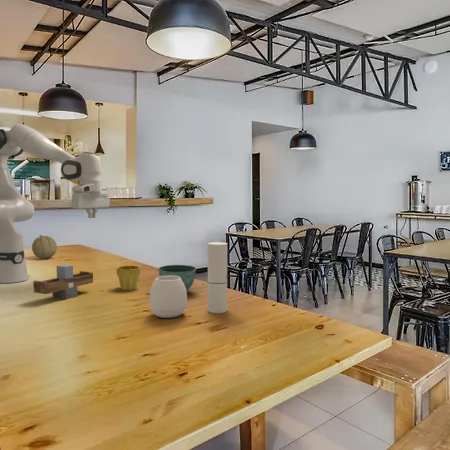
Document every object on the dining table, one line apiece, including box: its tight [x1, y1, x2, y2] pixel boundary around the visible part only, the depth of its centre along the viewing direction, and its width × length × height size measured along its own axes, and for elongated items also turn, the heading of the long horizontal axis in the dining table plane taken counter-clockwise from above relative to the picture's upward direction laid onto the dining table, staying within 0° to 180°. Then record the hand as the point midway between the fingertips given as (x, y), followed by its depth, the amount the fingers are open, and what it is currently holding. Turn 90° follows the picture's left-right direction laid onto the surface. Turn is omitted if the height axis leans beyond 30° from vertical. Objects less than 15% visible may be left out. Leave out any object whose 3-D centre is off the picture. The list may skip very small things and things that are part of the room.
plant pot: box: [116, 264, 141, 291], centre depth 188 cm, size 10×10×10 cm
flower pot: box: [157, 264, 197, 294], centre depth 182 cm, size 16×16×11 cm
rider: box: [56, 264, 74, 281], centre depth 173 cm, size 5×4×7 cm
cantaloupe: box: [31, 234, 58, 260], centre depth 266 cm, size 15×15×15 cm
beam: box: [32, 270, 94, 300], centre depth 174 cm, size 8×24×8 cm, turn 151°
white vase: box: [149, 275, 188, 319], centre depth 149 cm, size 13×13×14 cm
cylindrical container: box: [207, 241, 228, 314], centre depth 155 cm, size 7×7×25 cm
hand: (91, 218), depth 194 cm, fingers closed
